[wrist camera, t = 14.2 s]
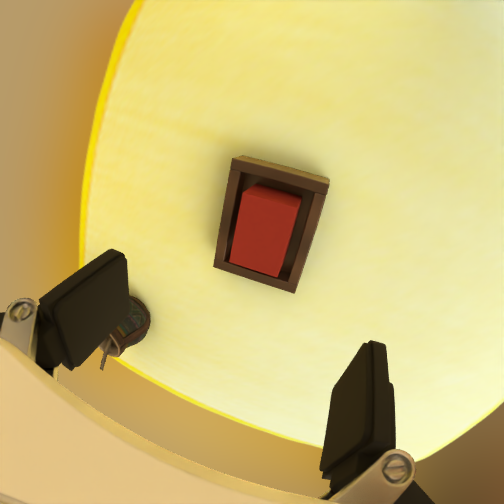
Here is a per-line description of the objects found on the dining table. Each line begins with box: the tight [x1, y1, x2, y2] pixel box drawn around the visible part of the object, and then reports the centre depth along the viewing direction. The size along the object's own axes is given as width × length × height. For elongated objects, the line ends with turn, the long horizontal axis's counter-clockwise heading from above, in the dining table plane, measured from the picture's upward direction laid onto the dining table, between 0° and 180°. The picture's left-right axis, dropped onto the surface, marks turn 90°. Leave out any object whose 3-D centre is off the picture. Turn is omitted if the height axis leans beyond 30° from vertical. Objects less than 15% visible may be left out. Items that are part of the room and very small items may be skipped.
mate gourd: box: [98, 296, 151, 370], centre depth 35 cm, size 7×8×10 cm
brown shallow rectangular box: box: [213, 155, 330, 293], centre depth 27 cm, size 11×8×3 cm
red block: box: [229, 184, 302, 277], centre depth 25 cm, size 6×4×4 cm
